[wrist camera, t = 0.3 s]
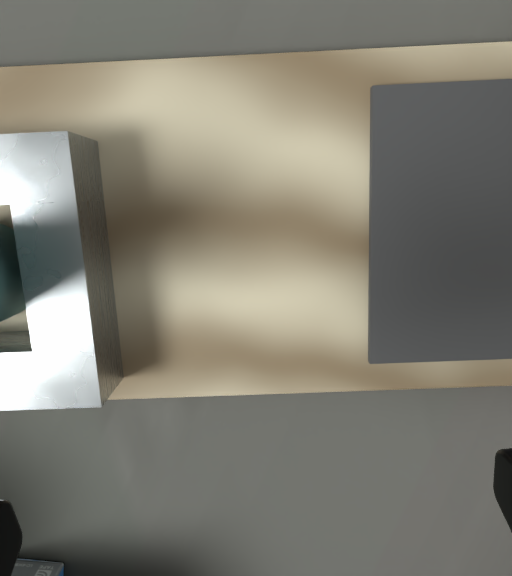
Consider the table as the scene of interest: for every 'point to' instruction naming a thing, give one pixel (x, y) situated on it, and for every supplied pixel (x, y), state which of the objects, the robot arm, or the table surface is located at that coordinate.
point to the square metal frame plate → (59, 275)
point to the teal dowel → (9, 276)
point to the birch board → (242, 211)
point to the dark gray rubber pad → (440, 222)
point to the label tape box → (37, 568)
